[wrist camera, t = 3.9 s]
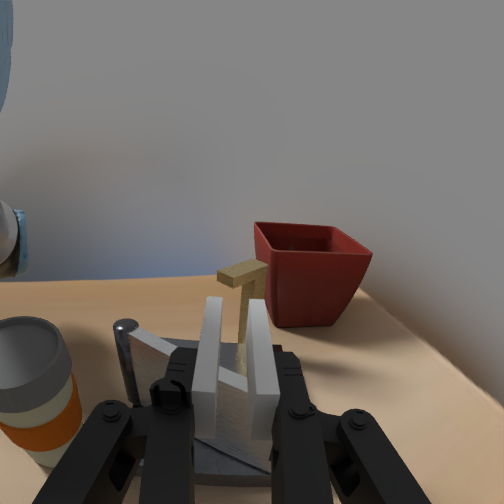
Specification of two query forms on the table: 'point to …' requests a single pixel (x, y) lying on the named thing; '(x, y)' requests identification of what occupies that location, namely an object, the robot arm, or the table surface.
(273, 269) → the plant pot
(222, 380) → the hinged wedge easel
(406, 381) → the table surface
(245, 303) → the wooden l-shaped post
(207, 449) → the dark grey flat slab
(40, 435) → the reusable coffee cup
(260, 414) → the robot arm
